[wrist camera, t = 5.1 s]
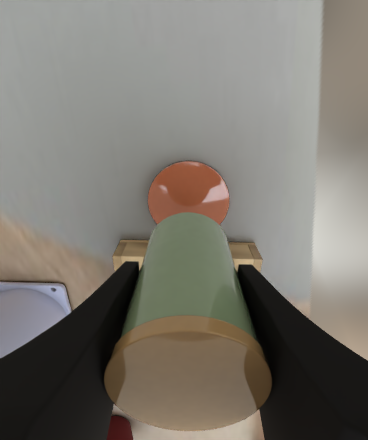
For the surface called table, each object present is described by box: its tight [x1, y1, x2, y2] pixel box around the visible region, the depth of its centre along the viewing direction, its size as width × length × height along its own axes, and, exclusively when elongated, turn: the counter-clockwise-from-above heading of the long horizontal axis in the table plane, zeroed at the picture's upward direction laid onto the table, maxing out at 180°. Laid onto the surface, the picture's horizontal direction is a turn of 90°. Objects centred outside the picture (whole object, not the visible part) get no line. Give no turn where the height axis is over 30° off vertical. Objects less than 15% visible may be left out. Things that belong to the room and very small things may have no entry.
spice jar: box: [104, 212, 272, 431], centre depth 10 cm, size 5×5×8 cm
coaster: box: [148, 161, 229, 225], centre depth 19 cm, size 7×7×1 cm
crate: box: [112, 240, 263, 272], centre depth 21 cm, size 12×9×3 cm
